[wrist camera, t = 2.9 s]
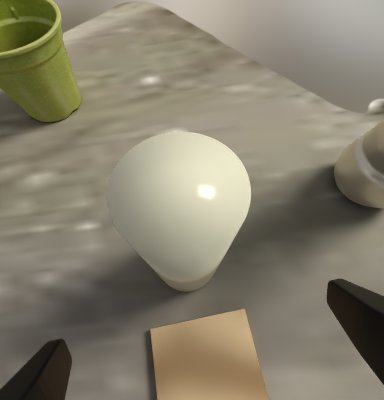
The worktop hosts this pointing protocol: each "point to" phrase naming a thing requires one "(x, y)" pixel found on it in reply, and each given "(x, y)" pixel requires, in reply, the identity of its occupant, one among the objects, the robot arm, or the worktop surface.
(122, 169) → the tumbler
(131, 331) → the worktop surface
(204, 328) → the coaster
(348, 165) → the plastic bottle
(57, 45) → the plant pot
